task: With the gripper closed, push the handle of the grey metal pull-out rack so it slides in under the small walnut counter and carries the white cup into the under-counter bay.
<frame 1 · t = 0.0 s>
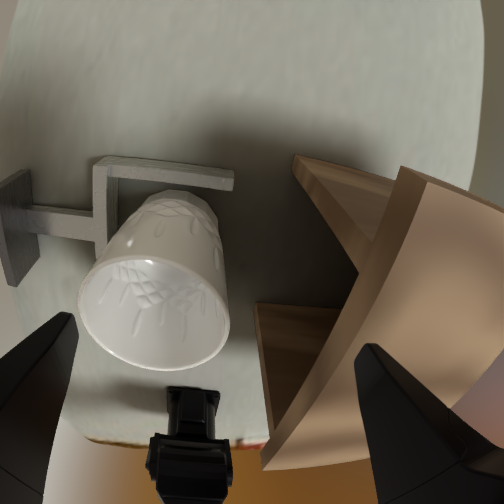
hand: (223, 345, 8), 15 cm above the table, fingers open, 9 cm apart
white cup: (175, 229, 23), on the table
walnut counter: (341, 253, 25), on the table
pull-out rack: (101, 239, 19), point 3 cm above the table, slide at 12.5 cm
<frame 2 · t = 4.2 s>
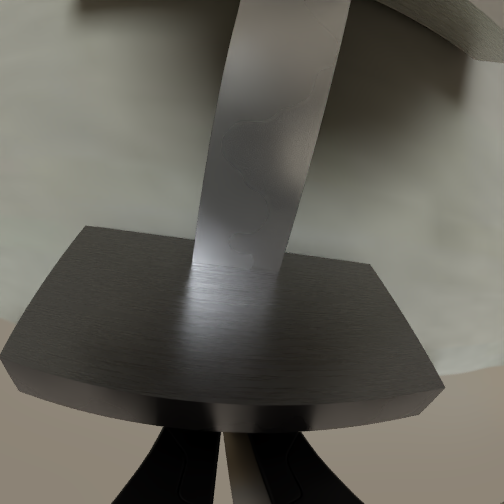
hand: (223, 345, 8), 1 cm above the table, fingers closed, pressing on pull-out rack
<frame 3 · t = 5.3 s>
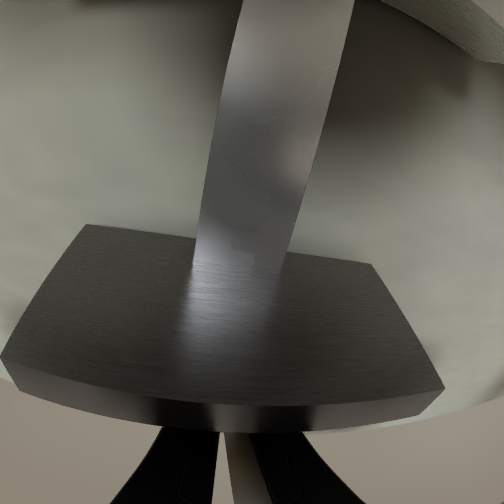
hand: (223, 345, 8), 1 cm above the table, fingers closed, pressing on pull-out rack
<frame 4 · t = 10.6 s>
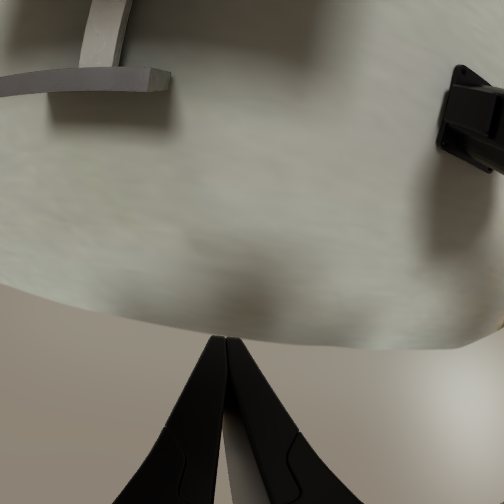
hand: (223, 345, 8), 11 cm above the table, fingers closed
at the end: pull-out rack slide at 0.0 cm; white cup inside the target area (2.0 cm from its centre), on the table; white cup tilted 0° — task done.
